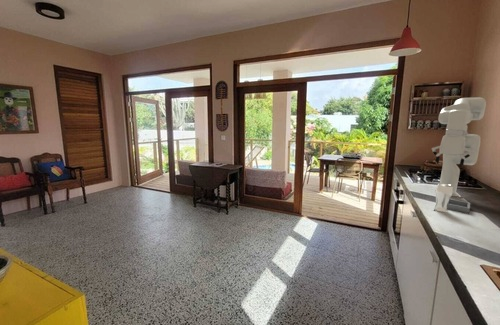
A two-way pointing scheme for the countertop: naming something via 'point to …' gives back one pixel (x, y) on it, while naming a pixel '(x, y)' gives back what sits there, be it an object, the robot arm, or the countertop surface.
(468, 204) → the tray
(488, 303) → the countertop surface
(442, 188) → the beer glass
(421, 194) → the countertop surface
